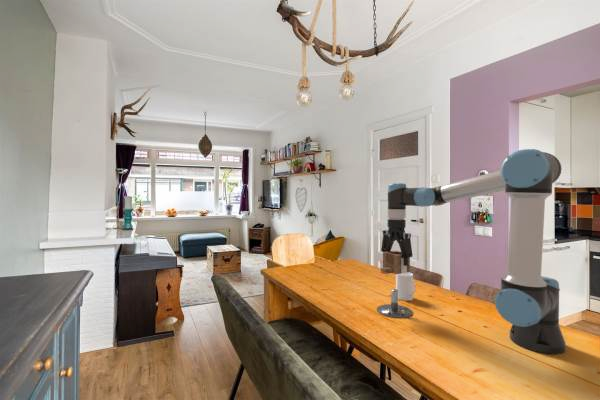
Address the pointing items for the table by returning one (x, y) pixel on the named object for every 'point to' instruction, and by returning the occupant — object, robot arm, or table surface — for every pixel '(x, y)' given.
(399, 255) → the collar
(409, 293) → the mug
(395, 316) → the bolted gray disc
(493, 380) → the table surface
